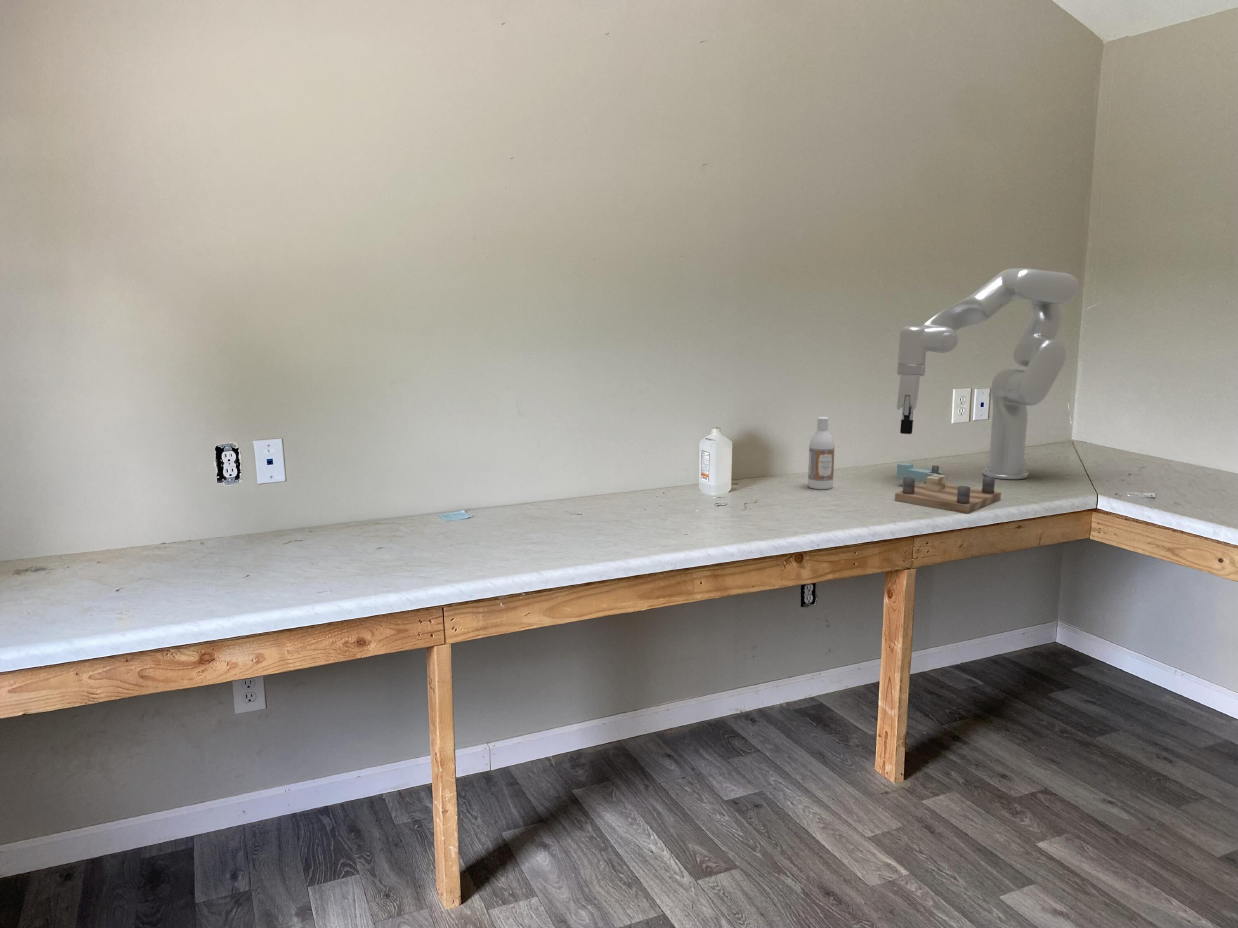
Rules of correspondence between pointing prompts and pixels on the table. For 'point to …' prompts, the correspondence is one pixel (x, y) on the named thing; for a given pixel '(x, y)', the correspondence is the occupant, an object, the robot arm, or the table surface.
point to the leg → (913, 472)
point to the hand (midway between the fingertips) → (906, 433)
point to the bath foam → (821, 457)
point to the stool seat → (948, 493)
